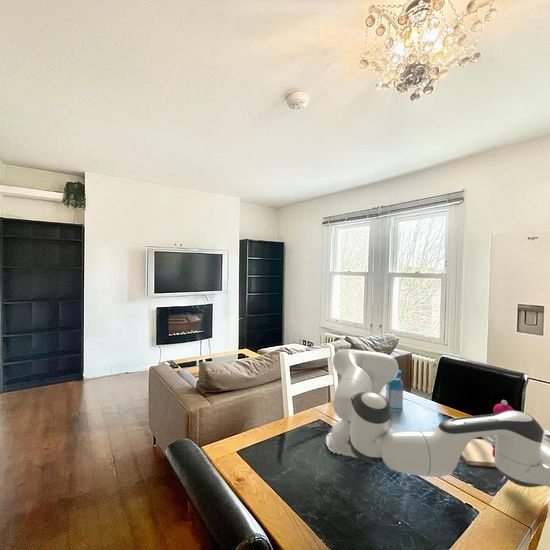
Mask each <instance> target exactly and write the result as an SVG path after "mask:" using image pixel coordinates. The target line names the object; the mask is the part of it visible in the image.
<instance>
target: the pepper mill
mask: <svg viewBox="0 0 550 550" xmlns="http://www.w3.org/2000/svg"><path fill="white" fill-rule="evenodd" d="M507 410H513V411H515V410H514V408H513V407H511V405H508V401H507V400H505V399H502V400H501V402H500V403H497V404H495V405H494V406H493V414H496V413H499V412H502V411H507ZM491 445H492V444H491ZM492 447H493V448H494V449H493V452H492V455H493V457H494V458H495V447H496V446H494V445H492Z"/></svg>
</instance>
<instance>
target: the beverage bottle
mask: <svg viewBox="0 0 550 550" xmlns="http://www.w3.org/2000/svg"><path fill="white" fill-rule="evenodd" d="M401 378H402V370H400V369H398V374H397V376H396V378H395V379H394V380H393V381H391V382H389V383H387V384H386V385H385V392H386V393H385V399H386V400H387V401H388V402H389V404H390V409H391V412H395V411H399V412H402V411H403V408H404V407H403V405H404V404H403V402H404V401H403V397H404V396H403V395H404V388H403V386H404V383H403V380H402V379H401Z"/></svg>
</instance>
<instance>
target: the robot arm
mask: <svg viewBox="0 0 550 550" xmlns="http://www.w3.org/2000/svg"><path fill="white" fill-rule="evenodd" d="M332 365H333V368H334V370H335V372H336V373H337V374H339V375H340V376H341V378H340V380H339V382H338V384H337V387H336V388H335V392H334V394H333V399H332V409H333V411H334V413H335V414H336V416H337V417H338V418H339V419H340V420H339V421H337V422H335V423H334V424H333V426H332V428H331V432H329V433H328V434H326V437H325V446H326V445H327V446H326V448H327V447H328V449H329V450H330V451H331V452H333V453H332V454H335V453H337V455H340V454H342V455H341V456H347V457H350V456H351V457H352V458H356V459H359V460H361V461H364V462H366V463H370V464H371V463H372V464H373V463H375V464H381V463H384V464H385V466H387V467H388V468H389V469H390V470H393V471H396V472H399V473H403V474H407V475H411V476H419V477H420V476H421V477H430V478H441V477H442V478H443V477H444V476H445V477H446V476H448V475H450V474H451V473H452V472H454V471H455V469H456V467H457V466H458V463H459V461H460V460H461V459H460V458H461V454H462V452H463V450H464V449H465V447H466V445H467V444H468V443H469V442H470V441H471V440H472V439H477V438H482V439H483V440H486V441H487V442H489V443H490V444H492V445H494V446H496V447H495V463H494V464H495V466H496V467H495V468H496V469H497V471H498V472H499V473H500V474H501V475H503V477H505V479H507V480H508V481H509V482H512V483H513V484H514V485H517V486H519V487H525V488H538V487H543V486H544V487H547V488H550V430H548V429H545V428H543V427H542V426H541V425H540V423H539V422H538V420H536V419H535V418H534V417H533V416H532V415H530V414H528V413H525V412H523V411H519V410H514V409H513V410H514V411H513V410H507V411H502V412H499V413H496V414H494V413H490V414H480V415H472V416H464V417H463V416H462V417H455V418H448V419H444V420H442V421H441V422H440V423H439V424H438V425H436V426H434V427H432V428H430V429H426V430H406V429H405V430H399V429H398V430H397V429H394V428H392V427H390V419H391V415H392V413H391V412H392V411H391V409H390V404H389V402H388V401H387V400H386V397H384V395H382V394H381V392H382V390H383V389H384V388H385V387H386V385H387V383H389V382H391V381H393V380H394V379H395V378H396V376H397V374H398V370H399V364H398V361H397V359H396V358H395V357H394V356H392V355H390V354H387V353H383V352H377V351H371V350H363V349H362V350H361V349H354V348H353V349H352V348H345V349H344V348H343V349H338V350H336V352H335V353H334V355H333V358H332ZM328 449H327V450H328ZM329 450H328V451H329ZM330 451H329V452H330ZM331 452H330V453H331Z"/></svg>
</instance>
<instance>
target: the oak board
mask: <svg viewBox="0 0 550 550" xmlns="http://www.w3.org/2000/svg"><path fill="white" fill-rule="evenodd" d="M493 449H494V448H493V447H492V445H491V444H490V443H489V442H487V441H486V440H485V439H483V438H482V439H480V438H479V439H478V438H474V439H472V440H471V441H470V442H469V443H468V444H467V445H466V447H465V449H464V450H463V452H462V454H461V456H460V458H461V459H462V460H463V462H464V463H465V464H466V465H469V466H477V467H478V466H481V467H493V468H496V466H495V464H494V463H495V458H494V457H493V455H492V452H493Z"/></svg>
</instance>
